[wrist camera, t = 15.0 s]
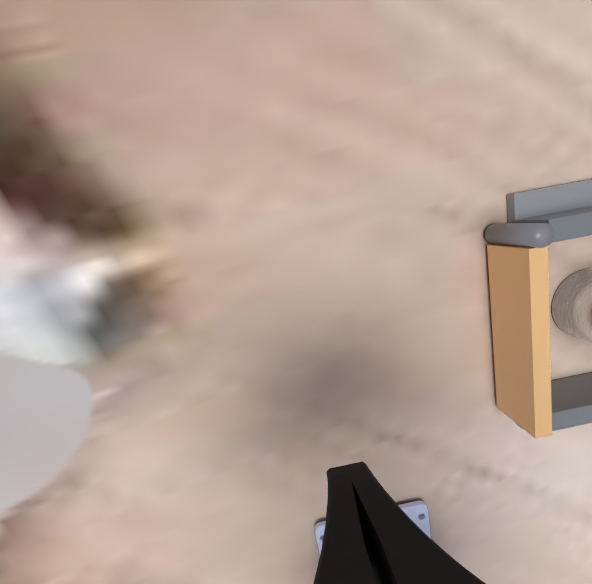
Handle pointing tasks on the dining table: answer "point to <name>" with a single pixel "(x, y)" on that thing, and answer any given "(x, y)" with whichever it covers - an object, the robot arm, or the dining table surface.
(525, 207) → the housing
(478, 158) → the dining table surface
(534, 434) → the gate
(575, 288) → the steel cylinder
